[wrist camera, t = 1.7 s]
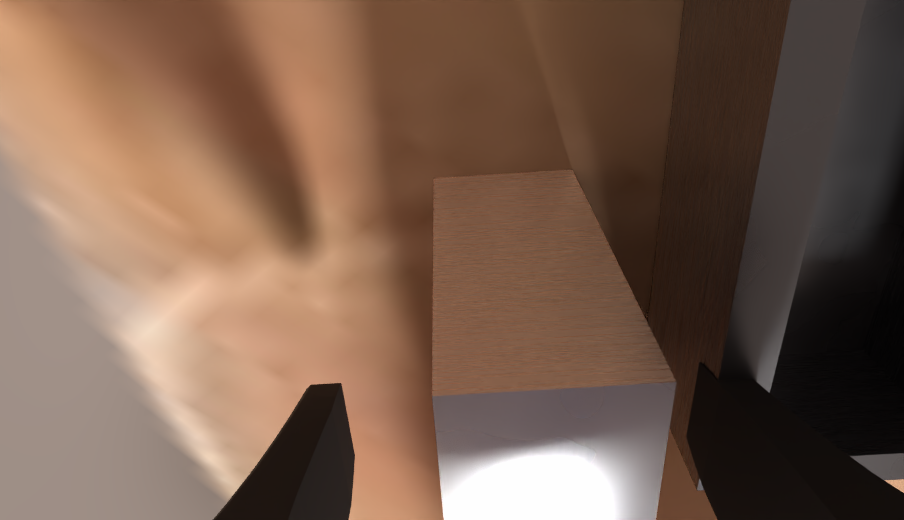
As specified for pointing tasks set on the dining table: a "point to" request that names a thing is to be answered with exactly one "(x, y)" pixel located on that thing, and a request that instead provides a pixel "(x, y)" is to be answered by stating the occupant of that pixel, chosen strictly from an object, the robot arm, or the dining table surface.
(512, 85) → the dining table surface
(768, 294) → the rack
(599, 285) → the block
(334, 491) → the robot arm
